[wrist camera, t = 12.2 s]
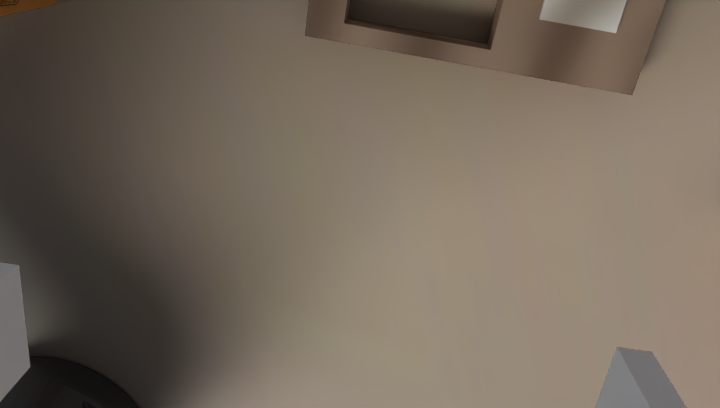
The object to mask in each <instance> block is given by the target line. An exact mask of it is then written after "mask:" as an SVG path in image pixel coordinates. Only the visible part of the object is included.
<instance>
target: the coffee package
mask: <svg viewBox="0 0 720 408" xmlns="http://www.w3.org/2000/svg"><path fill="white" fill-rule="evenodd" d="M57 2H58V0H0V17H2V16H6V15H9V14H12V13H15V12H20V11H25V10H30V9H37V8H41V7H44V6H49V5H54V4H55V3H57Z"/></svg>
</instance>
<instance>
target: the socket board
mask: <svg viewBox="0 0 720 408" xmlns="http://www.w3.org/2000/svg"><path fill="white" fill-rule="evenodd" d="M665 2H666V0H498V1H497V5H496V9H495V13H494V17H493V21H492V26H491V30H490V34H489V38H488V42H487V44H485V43H479V42H474V41H468V40H463V39H457V38H452V37H446V36H441V35H435V34H430V33H424V32H419V31H413V30H408V29H402V28H397V27H391V26H386V25H380V24H375V23H369V22H364V21H358V20H353V19H348V13H349V6H350V0H309V6H308V14H307V22H306V31H305V36H310V37H315V38H321V39H326V40H332V41H337V42H343V43H348V44H354V45H359V46H365V47H370V48H376V49H381V50H387V51H392V52H398V53H403V54H409V55H414V56H420V57H425V58H431V59H436V60H442V61H447V62H453V63H458V64H464V65H469V66H475V67H480V68H486V69H491V70H497V71H502V72H508V73H513V74H519V75H524V76H530V77H535V78H541V79H546V80H551V81H557V82H562V83H568V84H573V85H579V86H584V87H590V88H595V89H601V90H606V91H612V92H617V93H623V94H628V95H632V94H633V92H634V89H635V86H636V83H637V80H638V78H639V75H640V72H641V69H642V66H643V64H644V61H645V58H646V55H647V52H648V50H649V47H650V44H651V41H652V38H653V36H654V33H655V30H656V27H657V24H658V22H659V19H660V16H661V13H662V10H663V8H664V5H665Z"/></svg>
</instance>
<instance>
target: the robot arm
mask: <svg viewBox="0 0 720 408" xmlns="http://www.w3.org/2000/svg"><path fill="white" fill-rule="evenodd" d="M0 408H137V406H136V405H135V404H134V402H133V401H132V400H131V399H130V398H129V397H128V396H127V395H126V394H125V393H124V392H123V391H122V390H121V389H119V388H118V387H117V386H116V385H114V384H113V383H112V382H110V381H109V380H107V379H106V378H104V377H102V376H101V375H99V374H97V373H95V372H93V371H91V370H89V369H87V368H85V367H82V366H80V365H77V364H74V363H71V362H67V361H63V360H59V359H53V358H45V357H29V350H28V341H27V332H26V323H25V314H24V305H23V296H22V287H21V278H20V269H19V265H16V264H8V263H1V262H0ZM595 408H687V407H686V406H685V404H684V402H683V401H682V399H681V398H680V396H679V394H678V393H677V391H676V390H675V388H674V386H673V385H672V383H671V382H670V380H669V378H668V377H667V375H666V374H665V372H664V370H663V369H662V367H661V366H660V364H659V362H658V361H657V359H656V358H655V356H654V354H653V353H652V352H650V351H643V350H636V349H628V348H621V347H617V348H616V351H615V354H614V356H613V359H612V362H611V365H610V368H609V370H608V373H607V376H606V379H605V382H604V384H603V387H602V390H601V393H600V396H599V398H598V401H597V404H596V407H595Z"/></svg>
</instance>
